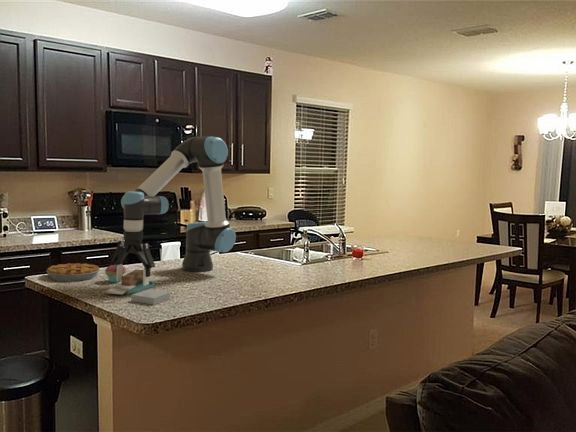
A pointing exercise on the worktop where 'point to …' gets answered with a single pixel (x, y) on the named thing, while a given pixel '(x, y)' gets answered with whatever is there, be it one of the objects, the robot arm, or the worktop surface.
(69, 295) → the worktop surface
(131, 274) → the turner
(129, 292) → the rest
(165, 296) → the tile
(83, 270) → the pie
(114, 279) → the cupcake
